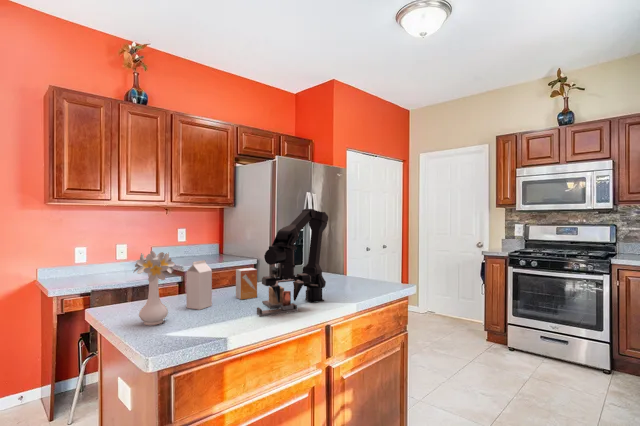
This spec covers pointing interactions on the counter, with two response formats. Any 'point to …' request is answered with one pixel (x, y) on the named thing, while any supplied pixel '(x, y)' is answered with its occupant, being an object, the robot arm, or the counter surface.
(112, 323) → the counter surface
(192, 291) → the milk carton
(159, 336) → the counter surface
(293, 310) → the rail
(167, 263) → the flower vase
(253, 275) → the small box
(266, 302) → the plate
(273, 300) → the block
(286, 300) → the handle
